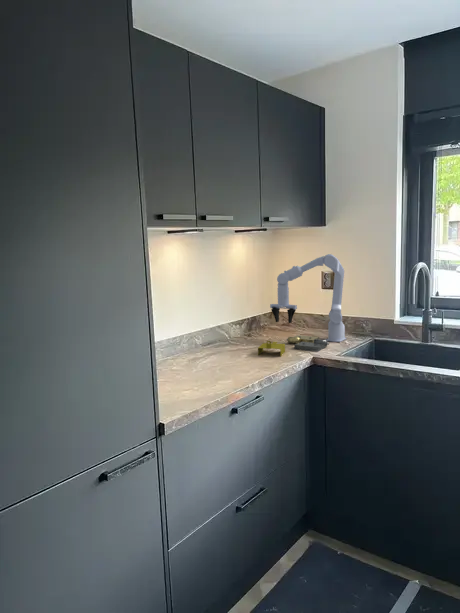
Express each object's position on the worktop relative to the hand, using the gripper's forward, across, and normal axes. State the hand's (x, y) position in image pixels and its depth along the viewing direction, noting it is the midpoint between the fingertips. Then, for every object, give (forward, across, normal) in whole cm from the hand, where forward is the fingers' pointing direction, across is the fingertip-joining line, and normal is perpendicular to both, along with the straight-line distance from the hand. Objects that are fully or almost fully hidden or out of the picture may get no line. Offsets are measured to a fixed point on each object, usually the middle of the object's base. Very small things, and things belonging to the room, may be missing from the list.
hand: (283, 322), depth 238 cm
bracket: (+10, +8, -27) cm, 30 cm away
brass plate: (+9, +11, -2) cm, 15 cm away
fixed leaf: (+9, +21, -10) cm, 25 cm away
